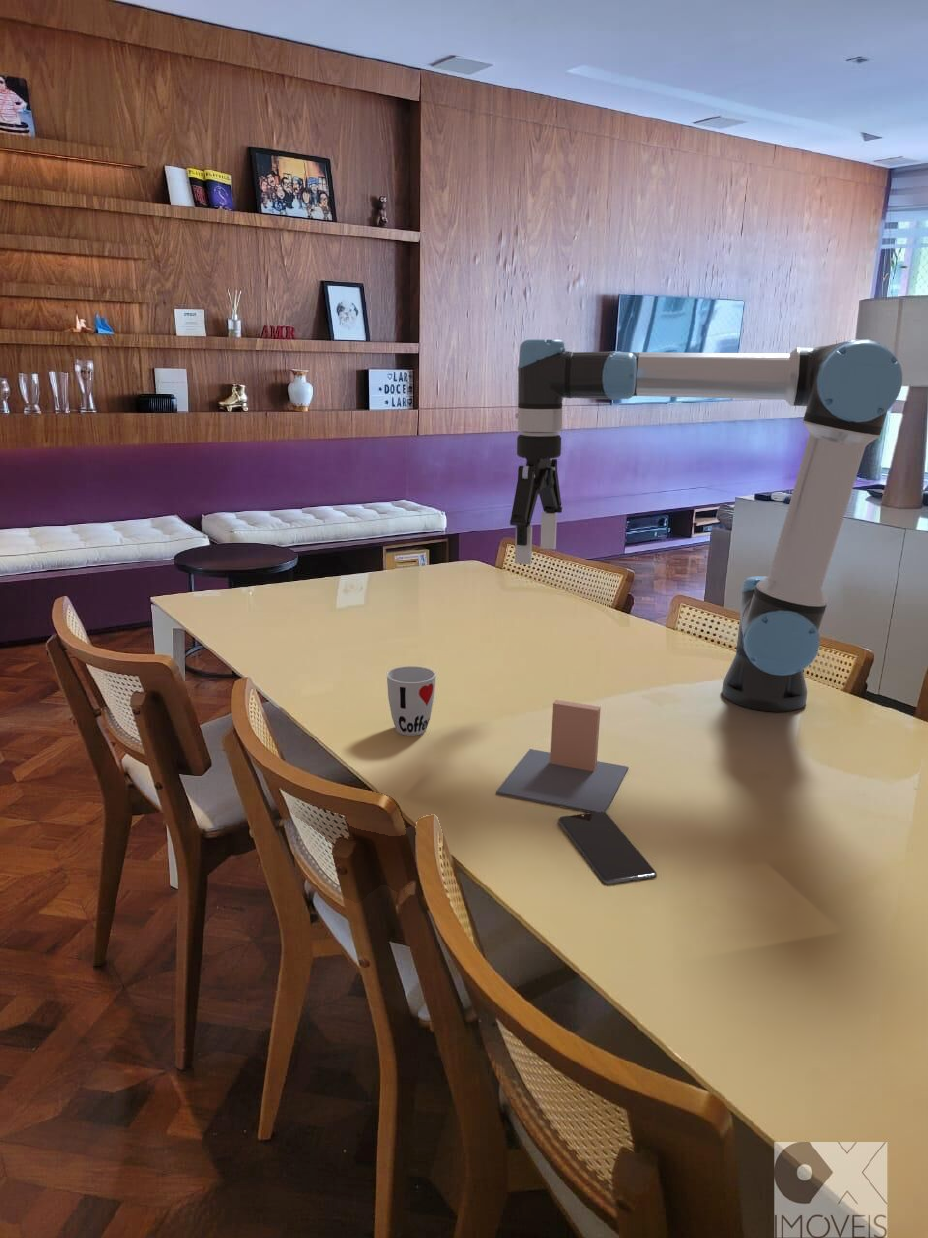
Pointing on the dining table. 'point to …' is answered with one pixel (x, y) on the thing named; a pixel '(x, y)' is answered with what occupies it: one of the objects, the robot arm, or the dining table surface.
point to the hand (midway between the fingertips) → (536, 555)
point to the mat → (563, 783)
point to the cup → (411, 698)
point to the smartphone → (606, 848)
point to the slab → (575, 735)
